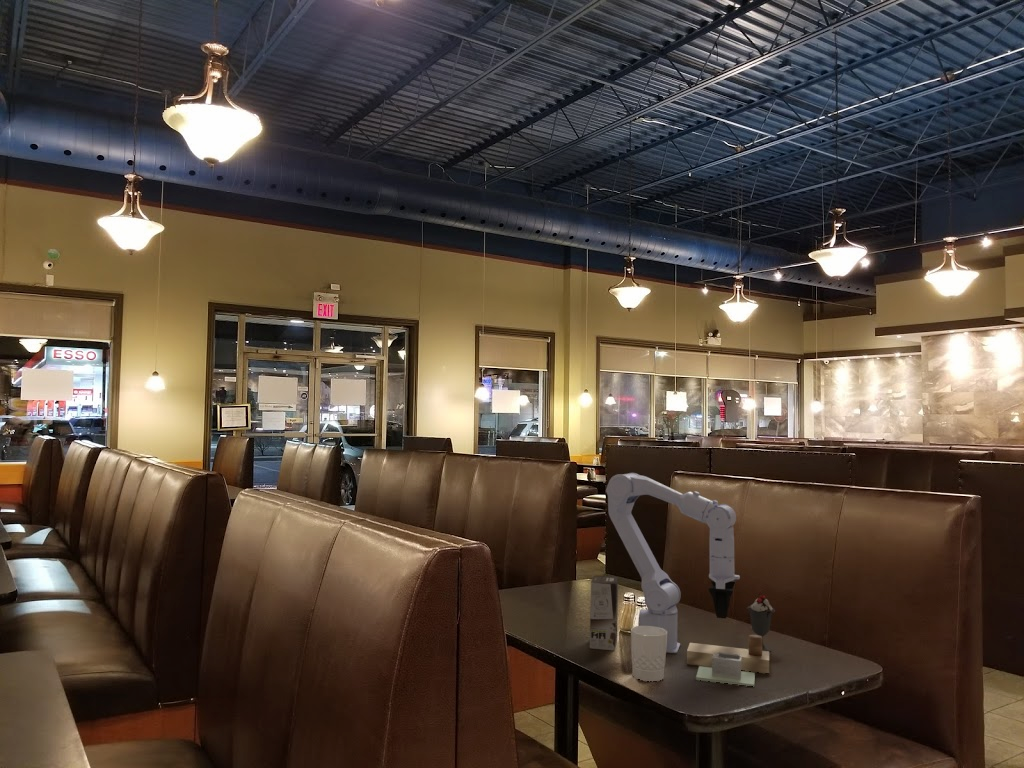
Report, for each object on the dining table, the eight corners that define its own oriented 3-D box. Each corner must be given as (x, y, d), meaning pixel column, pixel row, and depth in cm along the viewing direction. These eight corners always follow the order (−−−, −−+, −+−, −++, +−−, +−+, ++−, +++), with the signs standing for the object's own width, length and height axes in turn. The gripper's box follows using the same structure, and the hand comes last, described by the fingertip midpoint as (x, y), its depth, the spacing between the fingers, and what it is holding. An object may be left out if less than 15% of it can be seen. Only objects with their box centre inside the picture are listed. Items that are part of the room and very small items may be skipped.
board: (696, 679, 164) (696, 677, 164) (699, 668, 172) (699, 666, 172) (754, 687, 161) (754, 684, 161) (754, 675, 168) (754, 672, 168)
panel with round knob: (686, 663, 175) (687, 633, 176) (689, 655, 182) (690, 625, 182) (769, 673, 169) (769, 642, 170) (769, 664, 176) (769, 634, 176)
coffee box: (615, 651, 184) (616, 583, 185) (588, 649, 185) (590, 582, 186) (617, 640, 193) (618, 576, 194) (592, 638, 194) (593, 574, 195)
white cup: (641, 668, 171) (641, 623, 172) (673, 676, 166) (673, 630, 167) (623, 677, 165) (624, 630, 166) (655, 685, 160) (656, 637, 161)
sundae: (756, 654, 184) (757, 592, 184) (741, 646, 190) (741, 586, 191) (780, 653, 185) (780, 591, 186) (764, 645, 192) (764, 585, 192)
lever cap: (711, 676, 165) (712, 655, 165) (713, 670, 169) (713, 649, 169) (740, 680, 163) (740, 658, 163) (741, 673, 167) (741, 652, 168)
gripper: (738, 562, 173) (738, 622, 172) (740, 552, 187) (741, 608, 186) (706, 560, 175) (706, 620, 174) (710, 550, 189) (711, 606, 188)
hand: (722, 614), depth 180 cm, fingers open, 7 cm apart
